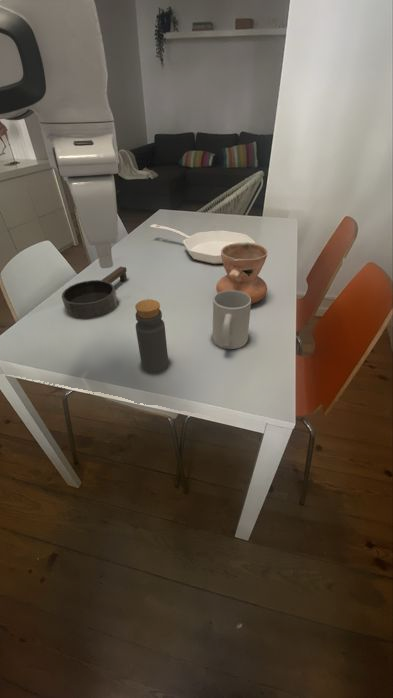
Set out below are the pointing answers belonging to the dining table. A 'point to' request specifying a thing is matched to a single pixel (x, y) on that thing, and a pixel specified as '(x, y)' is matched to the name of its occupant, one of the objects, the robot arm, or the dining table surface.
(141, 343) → the bottle
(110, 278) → the dark brown rectangular block
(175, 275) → the dining table surface
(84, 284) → the dark low round container
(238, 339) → the mug
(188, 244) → the pan
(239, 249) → the ceramic jug
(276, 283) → the dining table surface
